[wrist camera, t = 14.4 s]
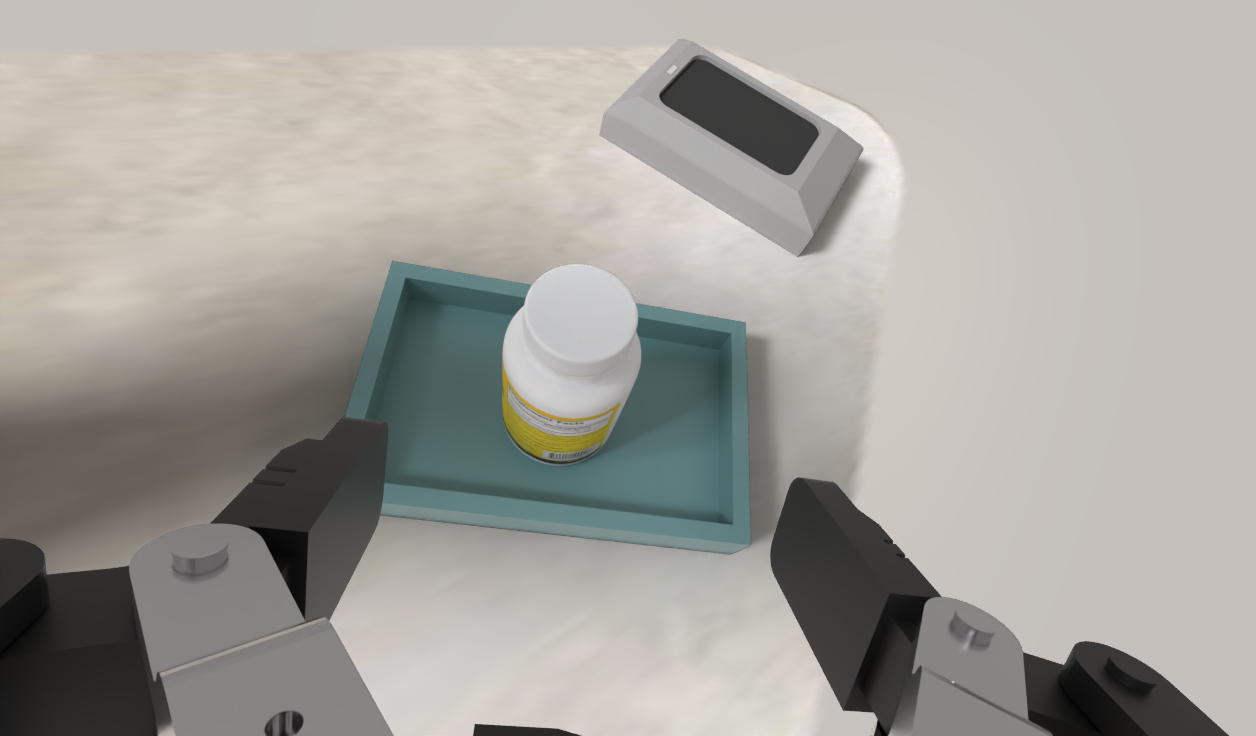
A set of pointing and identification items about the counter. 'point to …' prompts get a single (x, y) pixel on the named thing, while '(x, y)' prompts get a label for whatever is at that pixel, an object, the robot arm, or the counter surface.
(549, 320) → the supplement bottle
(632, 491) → the tray
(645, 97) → the gray beveled slab
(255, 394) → the counter surface
